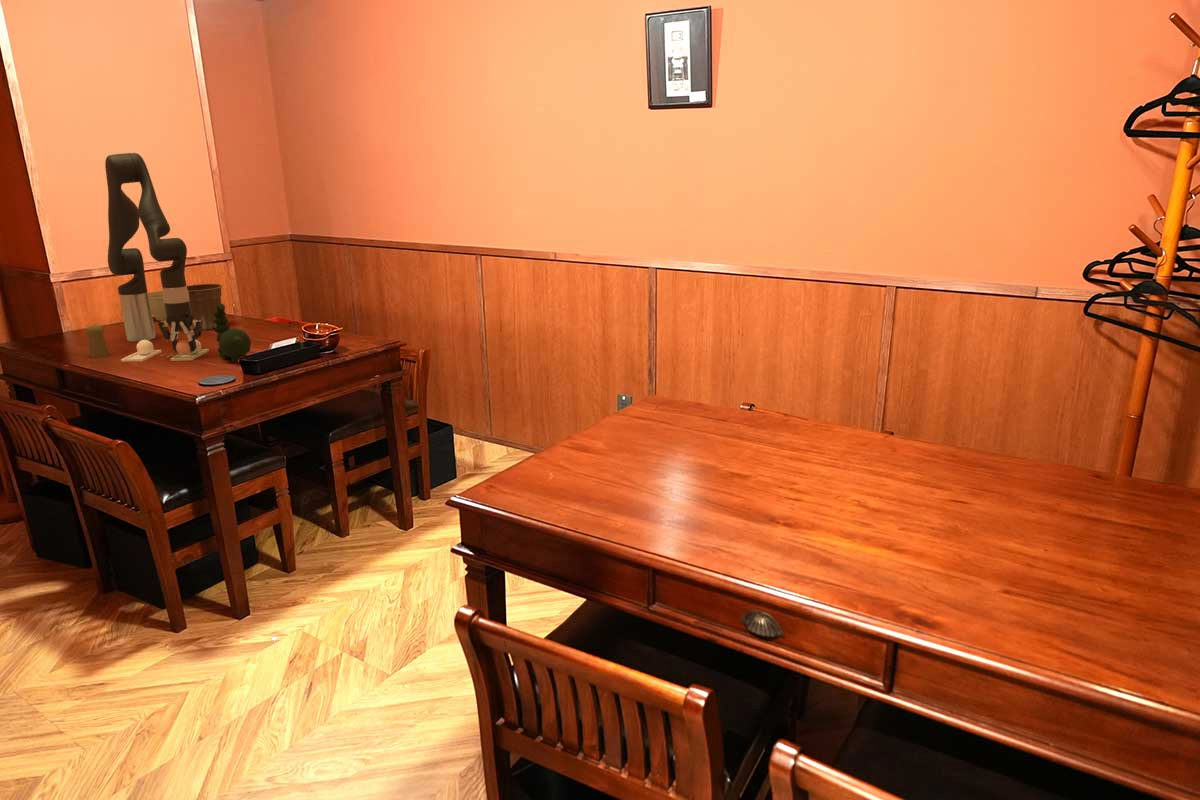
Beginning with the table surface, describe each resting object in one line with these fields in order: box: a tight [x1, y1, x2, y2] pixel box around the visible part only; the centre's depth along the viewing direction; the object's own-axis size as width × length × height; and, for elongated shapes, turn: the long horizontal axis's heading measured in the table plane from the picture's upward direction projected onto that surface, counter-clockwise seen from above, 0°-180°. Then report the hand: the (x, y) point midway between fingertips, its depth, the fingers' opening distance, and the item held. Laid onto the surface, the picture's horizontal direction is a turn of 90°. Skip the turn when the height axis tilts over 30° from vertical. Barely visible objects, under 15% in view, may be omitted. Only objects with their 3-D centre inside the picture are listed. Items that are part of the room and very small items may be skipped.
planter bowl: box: [148, 290, 167, 322], centre depth 336 cm, size 16×16×11 cm
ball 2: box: [176, 339, 191, 355], centre depth 268 cm, size 5×5×5 cm
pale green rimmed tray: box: [169, 348, 210, 362], centre depth 272 cm, size 13×7×1 cm, turn 2°
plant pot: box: [186, 283, 223, 331], centre depth 317 cm, size 16×16×16 cm
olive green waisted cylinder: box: [85, 324, 111, 359], centre depth 272 cm, size 6×6×11 cm
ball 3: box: [187, 339, 202, 354], centre depth 275 cm, size 5×5×5 cm
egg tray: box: [120, 349, 162, 363], centre depth 272 cm, size 13×7×1 cm, turn 2°
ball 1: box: [136, 340, 154, 355], centre depth 274 cm, size 5×5×5 cm
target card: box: [159, 353, 175, 358], centre depth 272 cm, size 8×6×1 cm
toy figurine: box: [213, 303, 252, 364], centre depth 267 cm, size 9×19×25 cm
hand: (185, 351), depth 269 cm, fingers closed on ball 2, 4 cm apart
